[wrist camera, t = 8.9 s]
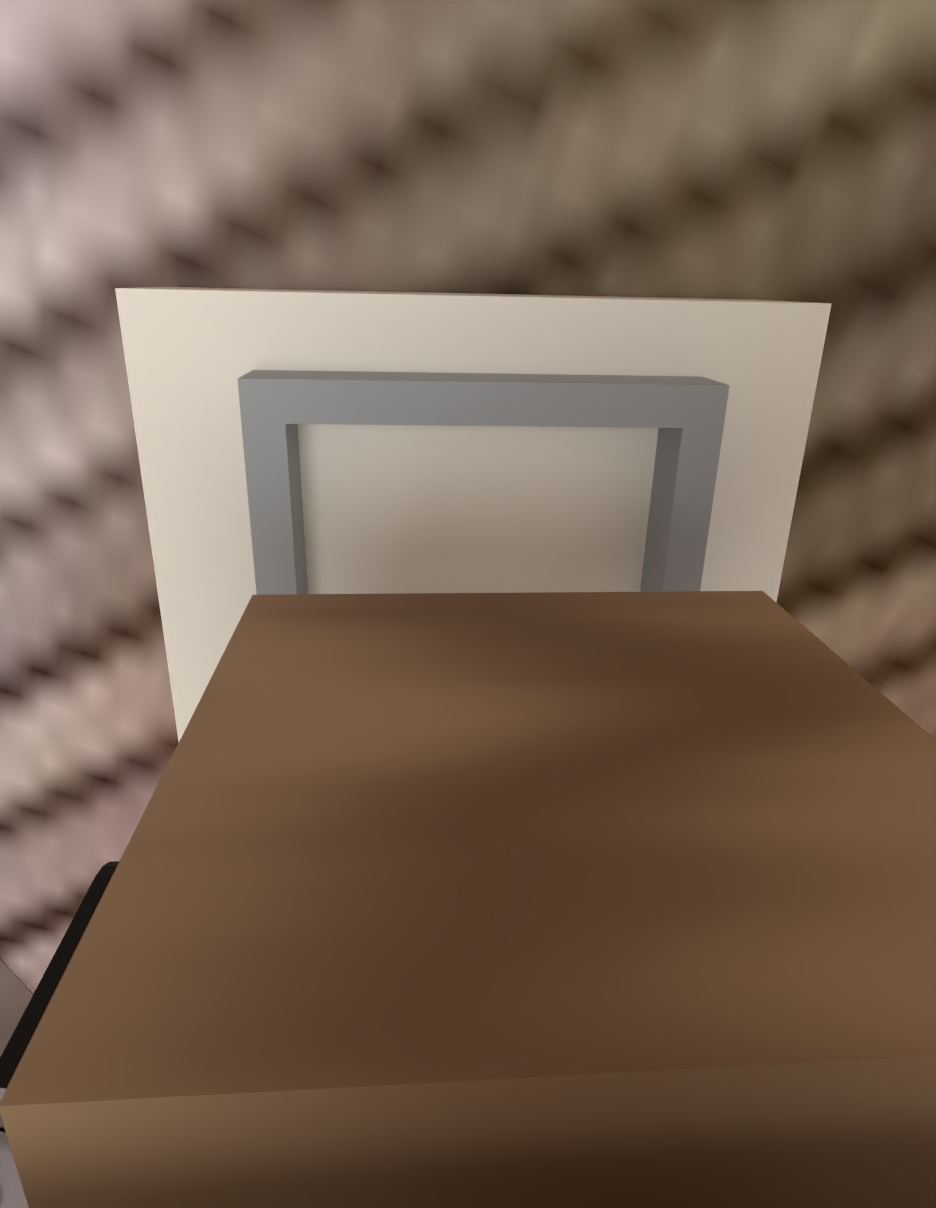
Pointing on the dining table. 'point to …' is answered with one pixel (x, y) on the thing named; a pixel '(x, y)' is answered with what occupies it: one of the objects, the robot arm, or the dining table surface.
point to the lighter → (11, 1003)
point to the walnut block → (508, 924)
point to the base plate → (458, 446)
